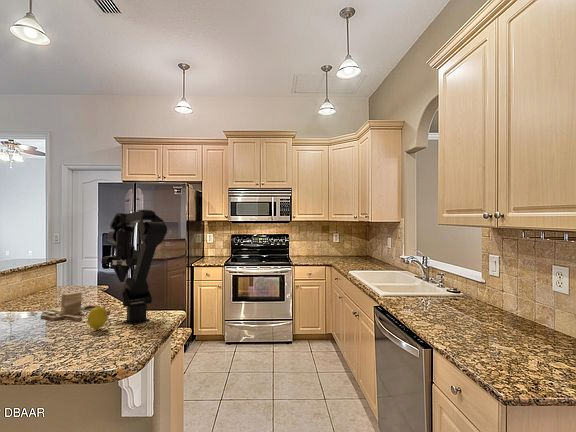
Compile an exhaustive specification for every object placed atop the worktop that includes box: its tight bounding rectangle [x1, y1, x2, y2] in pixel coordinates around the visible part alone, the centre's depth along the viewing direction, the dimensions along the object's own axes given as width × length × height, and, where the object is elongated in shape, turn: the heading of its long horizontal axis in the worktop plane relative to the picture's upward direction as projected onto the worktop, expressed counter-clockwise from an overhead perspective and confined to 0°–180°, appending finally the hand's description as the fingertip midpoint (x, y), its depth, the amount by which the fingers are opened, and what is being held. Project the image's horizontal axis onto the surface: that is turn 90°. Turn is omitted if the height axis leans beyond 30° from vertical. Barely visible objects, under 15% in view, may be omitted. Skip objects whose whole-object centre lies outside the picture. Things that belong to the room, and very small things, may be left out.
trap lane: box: [40, 304, 111, 322], centre depth 122 cm, size 23×20×1 cm
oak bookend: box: [48, 291, 83, 316], centre depth 125 cm, size 11×6×8 cm, turn 66°
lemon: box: [87, 305, 108, 331], centre depth 102 cm, size 6×6×8 cm
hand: (122, 282), depth 123 cm, fingers closed
